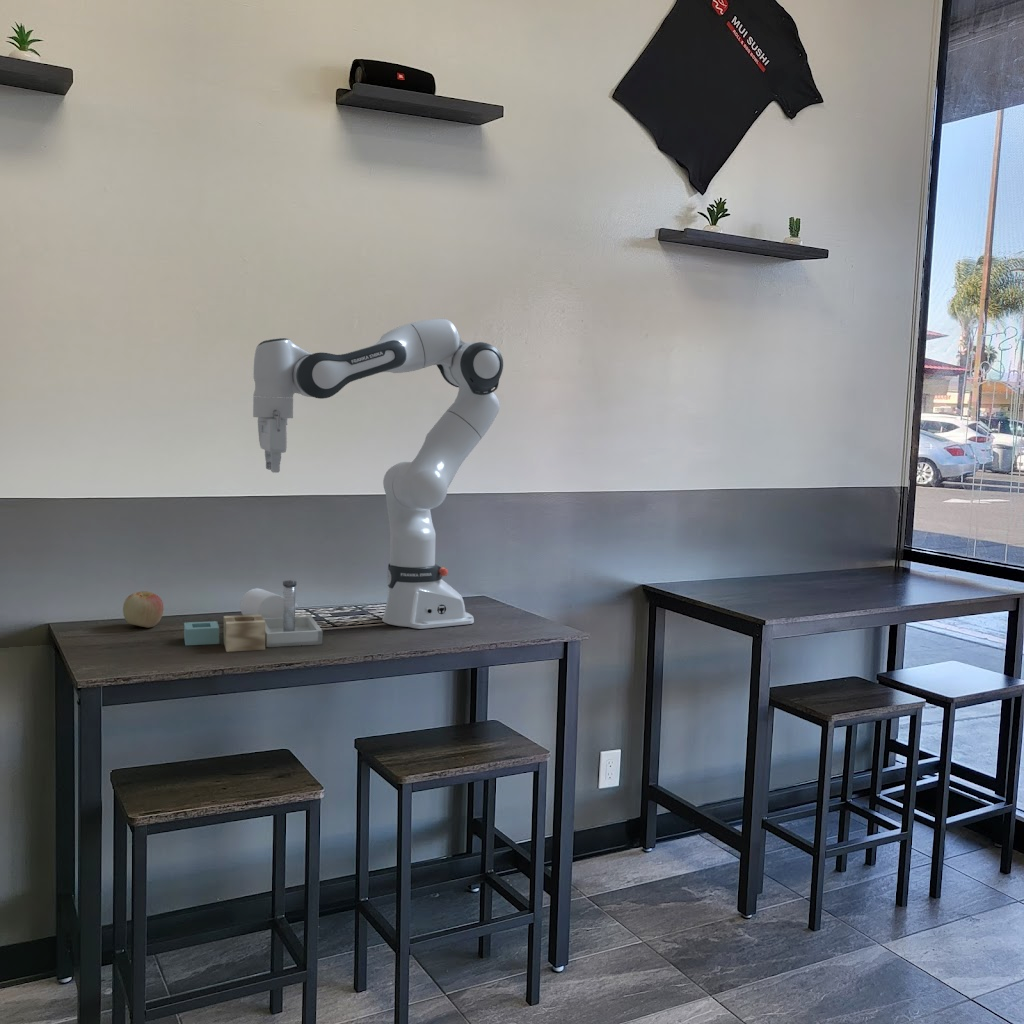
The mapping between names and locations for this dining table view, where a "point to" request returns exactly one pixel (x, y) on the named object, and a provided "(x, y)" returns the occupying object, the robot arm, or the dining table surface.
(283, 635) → the tray
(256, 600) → the mug
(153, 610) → the apple
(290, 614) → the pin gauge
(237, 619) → the beech block
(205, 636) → the stand
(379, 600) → the dining table surface
